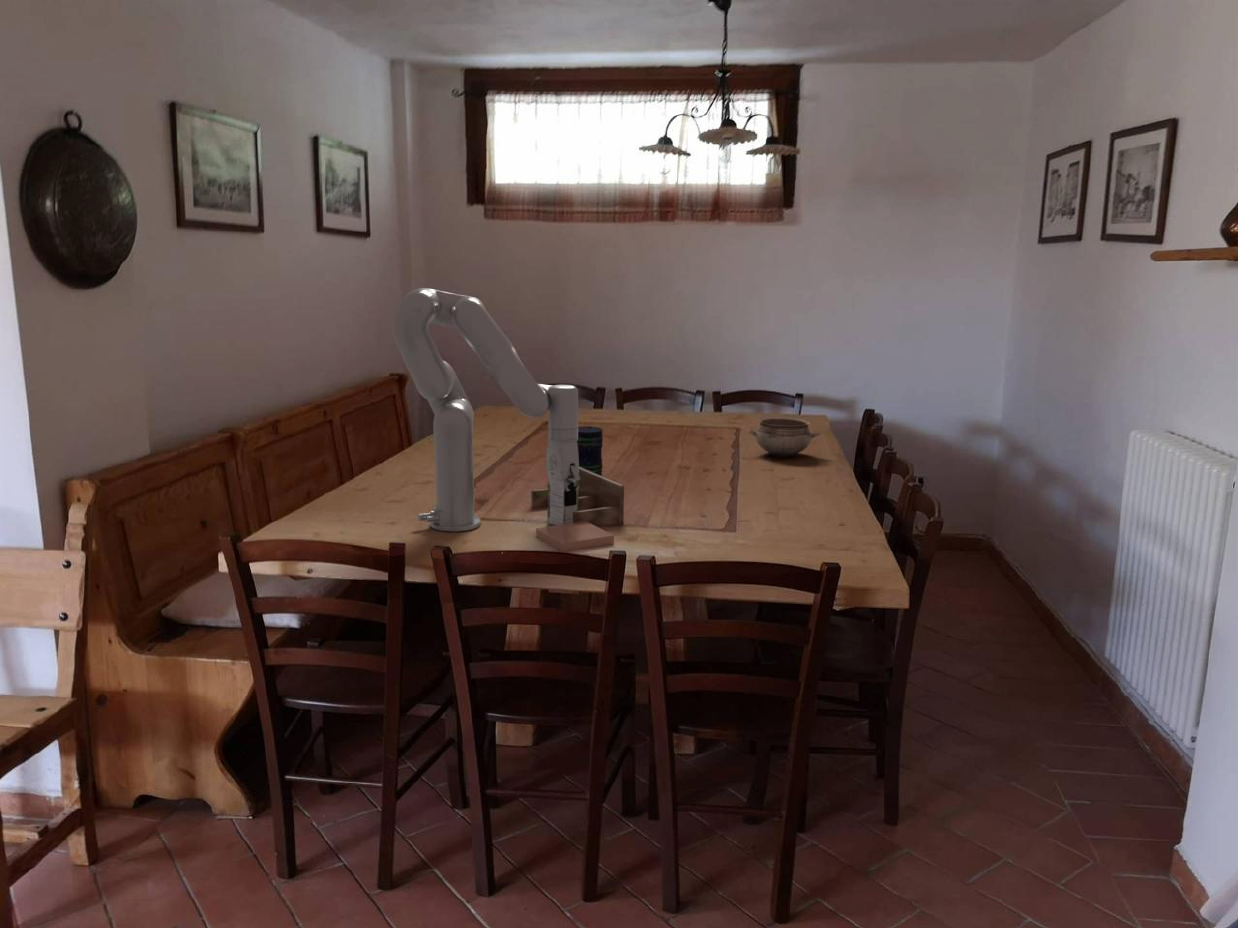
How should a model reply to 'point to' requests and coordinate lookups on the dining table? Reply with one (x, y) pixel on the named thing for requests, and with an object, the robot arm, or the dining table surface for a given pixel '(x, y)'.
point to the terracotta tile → (574, 536)
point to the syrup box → (559, 501)
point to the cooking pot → (783, 435)
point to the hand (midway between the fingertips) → (563, 501)
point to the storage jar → (590, 449)
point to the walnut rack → (592, 500)
